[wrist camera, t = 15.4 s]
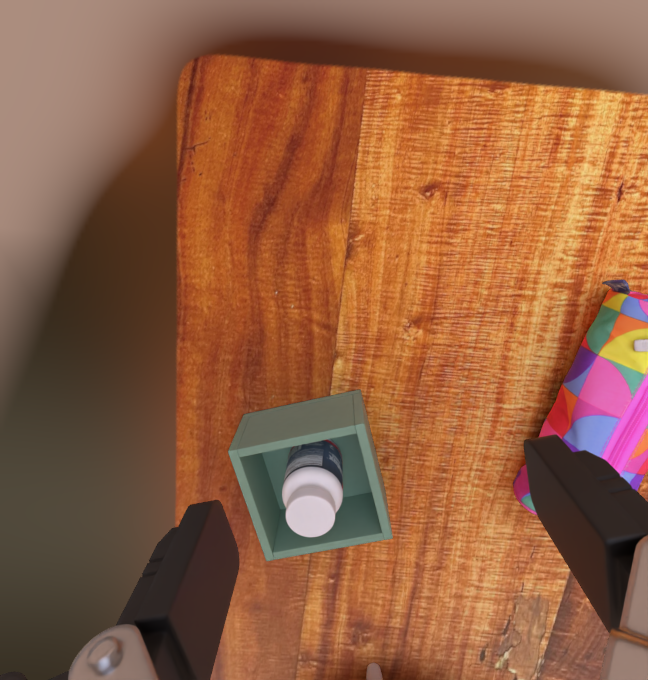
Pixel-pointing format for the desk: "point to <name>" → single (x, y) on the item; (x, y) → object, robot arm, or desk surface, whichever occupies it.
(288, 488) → the pill bottle
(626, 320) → the pencil case
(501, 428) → the desk surface
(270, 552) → the bin
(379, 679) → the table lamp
